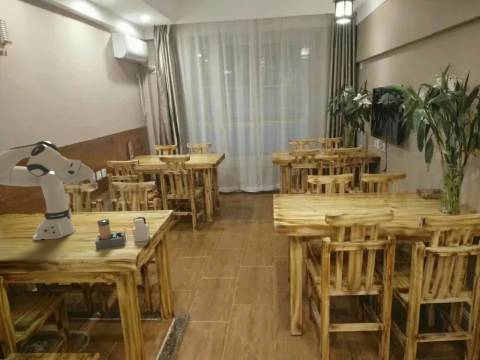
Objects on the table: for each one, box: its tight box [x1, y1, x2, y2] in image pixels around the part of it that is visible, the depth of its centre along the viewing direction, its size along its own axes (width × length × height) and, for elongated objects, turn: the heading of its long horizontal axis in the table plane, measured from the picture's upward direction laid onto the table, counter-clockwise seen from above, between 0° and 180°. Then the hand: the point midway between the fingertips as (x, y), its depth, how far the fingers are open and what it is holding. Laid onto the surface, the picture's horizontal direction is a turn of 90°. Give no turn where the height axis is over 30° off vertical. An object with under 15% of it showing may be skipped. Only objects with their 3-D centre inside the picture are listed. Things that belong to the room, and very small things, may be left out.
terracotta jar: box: [97, 218, 112, 240], centre depth 185 cm, size 6×6×12 cm
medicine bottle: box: [132, 216, 151, 243], centre depth 189 cm, size 7×7×12 cm
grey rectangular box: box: [94, 230, 127, 250], centre depth 187 cm, size 14×10×5 cm
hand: (88, 183), depth 180 cm, fingers open, 8 cm apart
